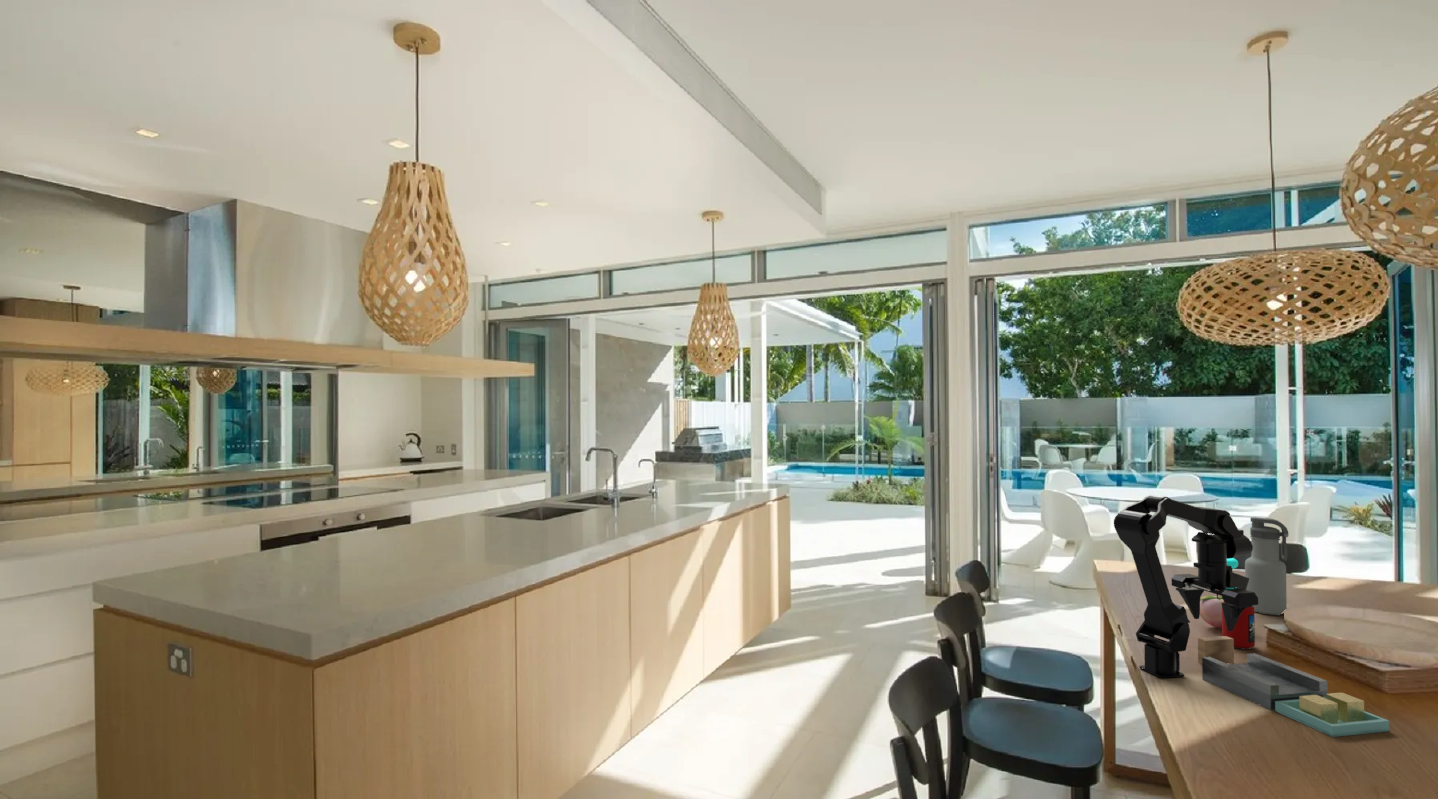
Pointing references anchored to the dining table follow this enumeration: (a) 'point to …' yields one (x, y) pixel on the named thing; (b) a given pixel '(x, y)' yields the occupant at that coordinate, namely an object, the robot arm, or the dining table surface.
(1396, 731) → the dining table surface
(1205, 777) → the dining table surface
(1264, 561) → the water bottle
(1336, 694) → the yellow cube
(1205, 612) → the decorative fruit
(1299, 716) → the tray
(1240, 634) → the beverage can
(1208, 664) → the slot block
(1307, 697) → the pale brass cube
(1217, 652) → the wooden block
